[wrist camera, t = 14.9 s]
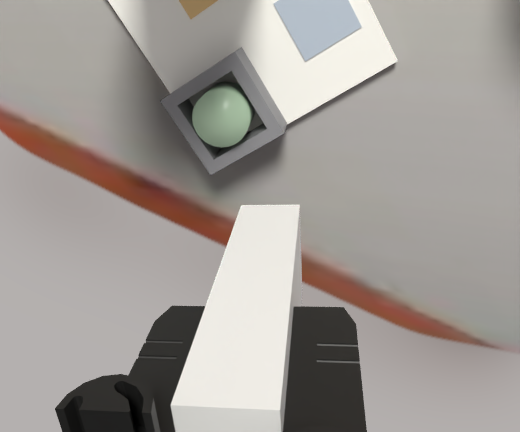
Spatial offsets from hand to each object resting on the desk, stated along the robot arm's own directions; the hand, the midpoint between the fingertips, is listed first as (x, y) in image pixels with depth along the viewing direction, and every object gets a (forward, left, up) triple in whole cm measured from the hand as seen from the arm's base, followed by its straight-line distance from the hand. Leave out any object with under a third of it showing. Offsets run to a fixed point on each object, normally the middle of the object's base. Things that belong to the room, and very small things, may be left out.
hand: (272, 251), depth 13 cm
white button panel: (-7, -1, -22) cm, 24 cm away
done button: (-1, -5, -22) cm, 22 cm away
